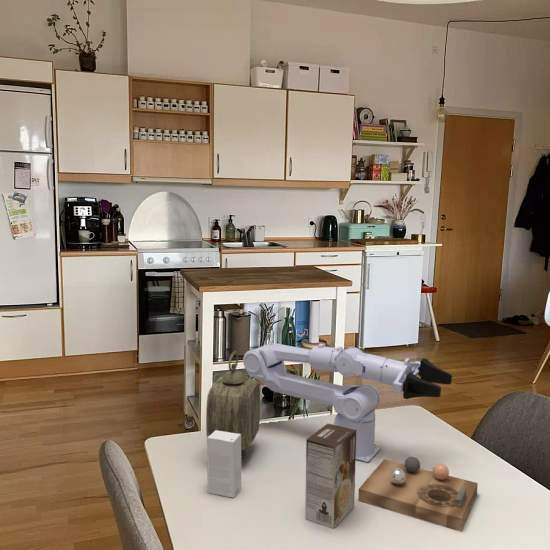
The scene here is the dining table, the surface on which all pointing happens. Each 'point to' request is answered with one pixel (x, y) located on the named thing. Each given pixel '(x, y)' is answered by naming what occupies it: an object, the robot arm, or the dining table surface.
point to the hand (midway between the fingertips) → (445, 385)
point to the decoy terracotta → (440, 471)
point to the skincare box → (224, 463)
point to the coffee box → (330, 474)
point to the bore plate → (420, 495)
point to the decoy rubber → (412, 464)
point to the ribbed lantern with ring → (234, 406)
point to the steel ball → (397, 476)
